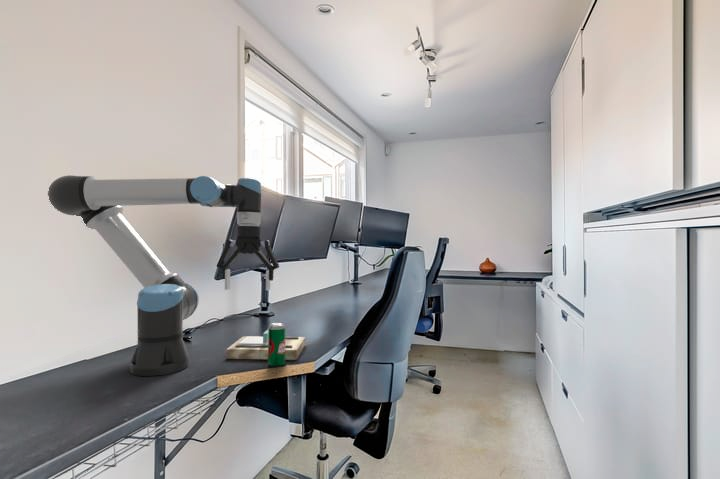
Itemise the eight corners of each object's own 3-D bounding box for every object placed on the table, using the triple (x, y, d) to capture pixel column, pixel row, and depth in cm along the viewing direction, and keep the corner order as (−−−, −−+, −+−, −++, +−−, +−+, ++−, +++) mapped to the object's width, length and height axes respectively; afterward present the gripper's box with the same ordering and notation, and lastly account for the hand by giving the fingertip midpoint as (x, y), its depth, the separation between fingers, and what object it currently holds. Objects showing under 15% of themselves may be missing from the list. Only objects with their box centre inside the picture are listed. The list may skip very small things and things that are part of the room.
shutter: (238, 345, 125) (238, 333, 125) (247, 338, 134) (247, 327, 134) (266, 346, 125) (266, 334, 125) (273, 338, 134) (273, 327, 134)
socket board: (226, 358, 122) (226, 347, 122) (243, 344, 138) (243, 334, 138) (296, 359, 121) (296, 348, 121) (305, 345, 137) (305, 335, 137)
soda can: (281, 368, 114) (281, 326, 114) (265, 366, 115) (265, 325, 115) (288, 362, 119) (288, 323, 118) (272, 361, 120) (272, 322, 120)
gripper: (206, 224, 126) (205, 290, 126) (283, 225, 126) (282, 291, 126) (216, 225, 134) (215, 287, 134) (288, 226, 133) (287, 289, 133)
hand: (247, 289), depth 130 cm, fingers open, 13 cm apart
